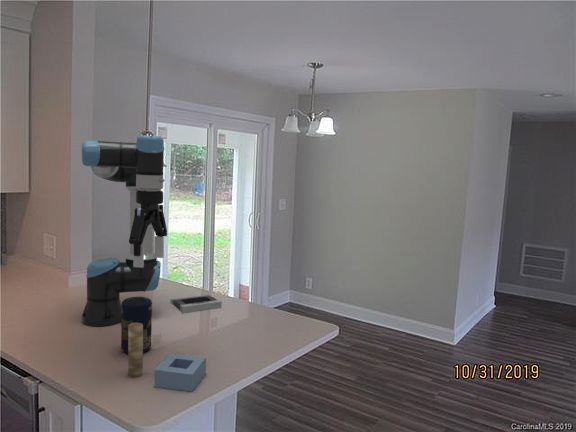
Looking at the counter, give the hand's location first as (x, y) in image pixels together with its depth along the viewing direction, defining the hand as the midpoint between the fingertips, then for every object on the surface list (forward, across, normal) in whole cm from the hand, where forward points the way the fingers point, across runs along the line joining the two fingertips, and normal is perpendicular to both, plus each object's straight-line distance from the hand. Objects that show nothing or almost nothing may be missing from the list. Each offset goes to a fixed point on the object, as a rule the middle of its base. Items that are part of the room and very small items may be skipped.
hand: (149, 262), depth 134 cm
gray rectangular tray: (+33, +61, +6) cm, 69 cm away
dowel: (+33, -4, +2) cm, 33 cm away
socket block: (+33, -5, -12) cm, 35 cm away
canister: (+33, +12, +10) cm, 36 cm away
